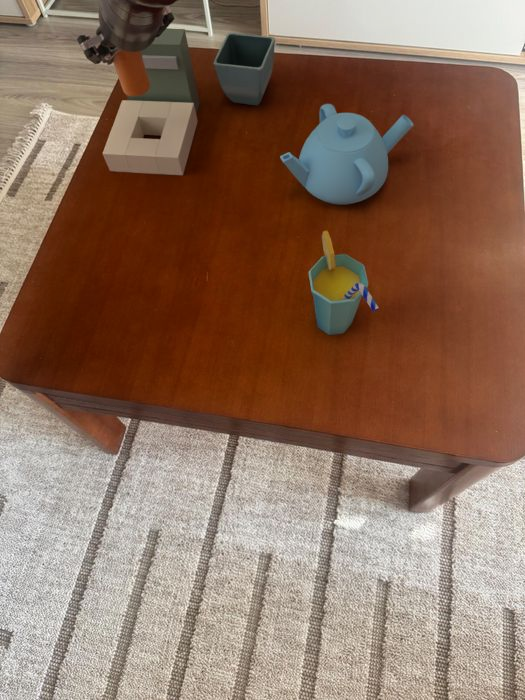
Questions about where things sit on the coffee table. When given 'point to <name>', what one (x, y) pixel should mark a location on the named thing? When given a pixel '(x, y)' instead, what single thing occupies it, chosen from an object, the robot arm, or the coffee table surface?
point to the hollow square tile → (151, 154)
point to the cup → (338, 289)
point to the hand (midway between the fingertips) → (121, 50)
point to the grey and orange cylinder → (132, 73)
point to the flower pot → (245, 66)
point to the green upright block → (169, 70)
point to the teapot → (345, 156)
